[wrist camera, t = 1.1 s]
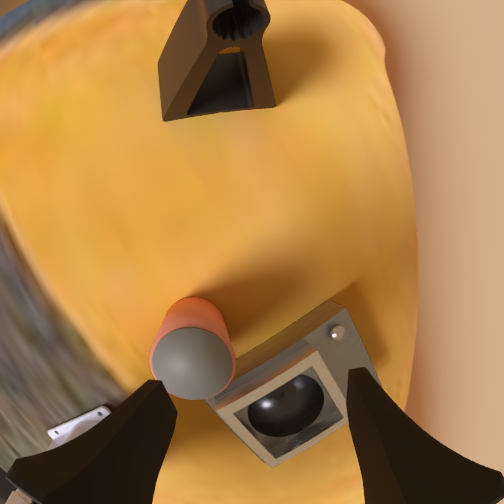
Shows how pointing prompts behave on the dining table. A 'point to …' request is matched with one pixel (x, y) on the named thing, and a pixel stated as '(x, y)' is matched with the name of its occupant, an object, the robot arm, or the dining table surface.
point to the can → (193, 350)
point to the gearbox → (294, 385)
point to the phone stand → (215, 60)
